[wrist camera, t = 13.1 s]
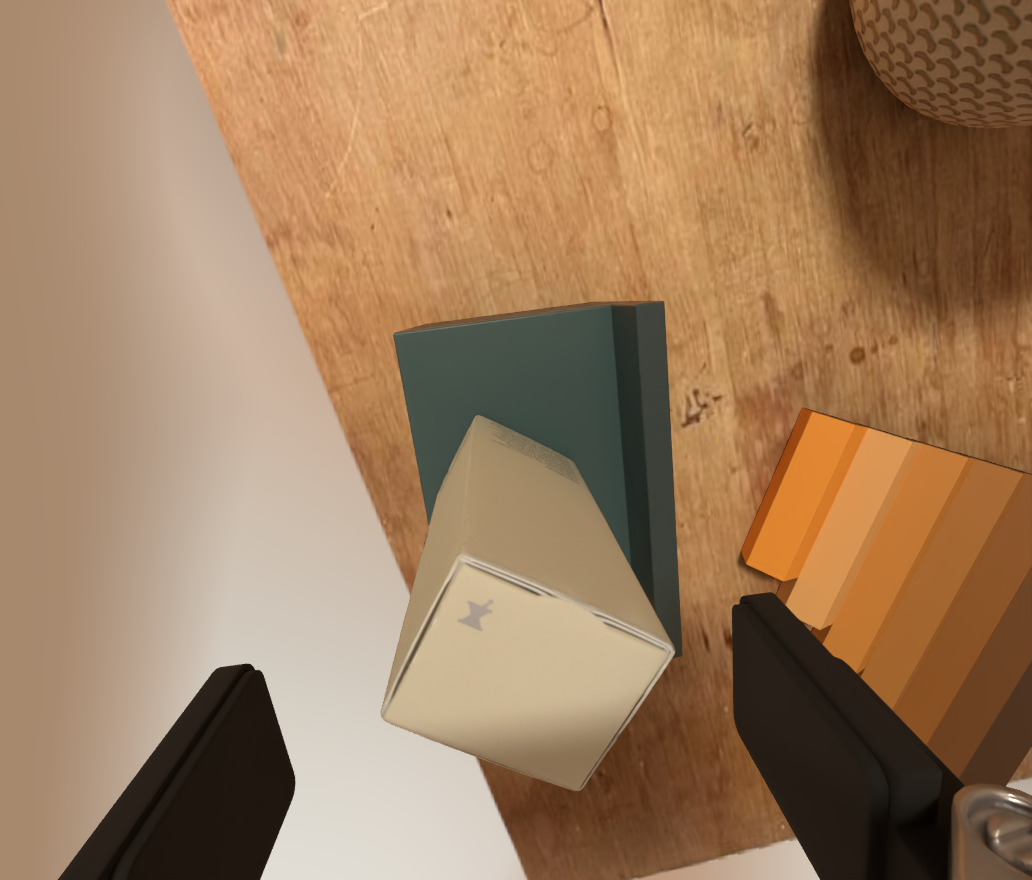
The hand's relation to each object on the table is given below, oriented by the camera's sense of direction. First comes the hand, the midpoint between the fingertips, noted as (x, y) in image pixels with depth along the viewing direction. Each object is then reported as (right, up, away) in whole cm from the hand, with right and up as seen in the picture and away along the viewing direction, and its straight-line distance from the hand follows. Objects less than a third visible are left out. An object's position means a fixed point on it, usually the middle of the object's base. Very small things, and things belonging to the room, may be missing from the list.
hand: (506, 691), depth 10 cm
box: (0, +3, +13) cm, 13 cm away
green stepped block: (+1, +6, +21) cm, 22 cm away
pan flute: (+26, -8, +26) cm, 37 cm away
